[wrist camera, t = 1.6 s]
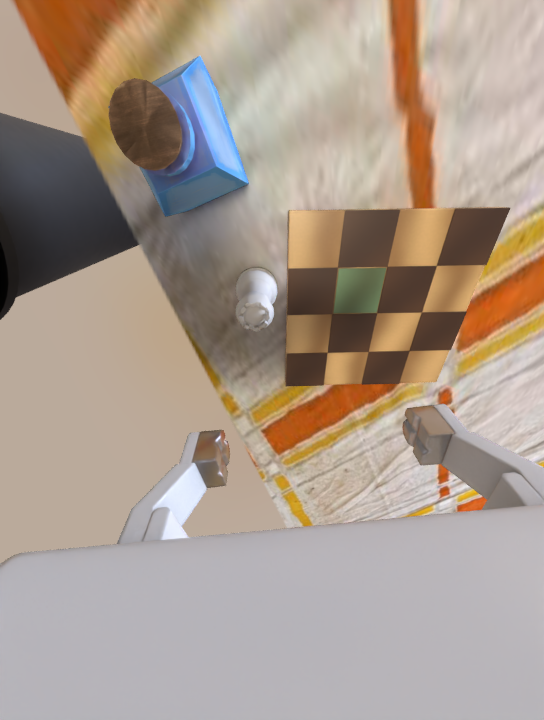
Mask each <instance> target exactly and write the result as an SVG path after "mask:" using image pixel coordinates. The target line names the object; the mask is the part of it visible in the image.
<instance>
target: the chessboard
mask: <svg viewBox="0 0 544 720" xmlns="http://www.w3.org/2000/svg"><path fill="white" fill-rule="evenodd" d="M509 210H510V208H507V207H475V208H411V209H348V210H289V213H288V265H287V317H286V369H285V383H286V386H317V385H330V384H399V383H416V382H436V381H437V379H438V377H439V374H440V372H441V370H442V367H443V365H444V362H445V360H446V358H447V355H448V353H449V350H451V348H452V346H453V343H454V341H455V338H456V336H457V334H458V331H459V329H460V327H461V324H462V322H463V319H464V317H465V315H466V310H467V307H468V305H469V303H470V300H471V298H472V295H473V293H474V291H475V288H476V286H477V283H478V281H479V279H480V276H481V274H482V271H483V269H484V267H485V265H487V262H488V260H489V258H490V255H491V253H492V250H493V248H494V246H495V243H496V241H497V238H498V236H499V234H500V231H501V229H502V227H503V224H504V222H505V219H506V217H507V215H508V212H509Z"/></svg>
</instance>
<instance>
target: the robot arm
mask: <svg viewBox="0 0 544 720" xmlns="http://www.w3.org/2000/svg"><path fill="white" fill-rule="evenodd" d="M405 416H406V417H407V419H406V420H405V421H404V422H403V434H404V436H405V439H406V441H407V443H408V444H410V445H411V446H413V447H414V449H413V453H414V455H415V457H416V458H417V460H418V462H419V463H420V465H434V464H442V466H444V467H445V468H446V469H448V470H449V471H450V472H452V473H453V474H454V475H456V476H457V477H458V478H460V479H461V480H462V481H463V482H465V483H466V484H467V485H469V486H470V487H471V488H473V489H474V490H475V491H477V492H478V493H479V494H481V495H482V496H483V497H484V498H486V499H487V502H486V503H485V505H484V507H483V509H482V510H477V511H466V512H456V513H445V514H434V515H423V516H413V517H402V518H391V519H380V520H370V521H359V522H348V523H337V524H327V525H316V526H306V527H295V528H284V529H274V530H263V531H252V532H241V533H232V534H220V535H209V536H199V537H188V536H187V534H186V533H185V531H184V530H183V528H182V525H183V524H184V523H185V521H186V520H187V518H188V517H189V515H190V514H191V512H192V511H193V509H194V508H195V506H196V505H197V504H198V502H199V500H200V499H201V498H202V496H203V495H204V493H205V492H206V490H207V488H211V487H218V486H225V485H226V483H227V475H228V471H227V468H226V466H227V465H228V463H229V459H230V450H229V445H228V442H227V441H226V440H225V433H224V430H214V431H204V432H194V433H190V434H189V435H188V437H187V440H186V443H185V446H184V450H183V453H182V456H181V460H180V462H179V464H176V465H175V466H174V467H173V468H172V469H171V470H170V471H169V472H168V473H167V474H166V475H165V476H164V477H163V478H162V479H161V480H160V481H159V482H158V483H157V484H156V485H155V486H154V487H153V488H152V489H151V490H150V491H149V492H148V493H147V494H146V495H145V496H144V497H143V498H142V499H141V500H140V501H139V502H138V503H137V504H136V505H135V506H134V507H133V508H132V510H131V512H130V514H129V516H128V519H127V521H126V524H125V526H124V528H123V531H122V533H121V535H120V538H119V540H118V543H117V544H113V545H101V546H91V547H79V548H69V549H58V550H47V551H35V552H25V553H19V554H16V555H13V556H12V557H10V558H8V559H7V560H5V561H4V562H2V563H1V564H0V720H544V467H542V466H540V465H538V464H536V463H534V462H532V461H530V460H528V459H526V458H524V457H522V456H520V455H518V454H516V453H514V452H512V451H510V450H508V449H506V448H504V447H502V446H500V445H498V444H496V443H494V442H492V441H490V440H488V439H486V438H484V437H482V436H480V435H478V434H476V433H474V432H471V433H470V432H469V431H468V430H467V429H466V427H465V426H464V425H463V424H462V423H461V422H460V421H459V419H458V418H457V417H456V416H455V415H454V414H453V412H452V411H451V410H450V409H449V408H448V407H447V406H446V405H445V404H438V405H431V406H422V407H414V408H407V410H406V412H405Z"/></svg>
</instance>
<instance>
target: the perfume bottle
mask: <svg viewBox="0 0 544 720" xmlns="http://www.w3.org/2000/svg"><path fill="white" fill-rule="evenodd" d="M109 119H110V126H111V130H112V133H113V135H114V138H115V140H116V143H117V144H118V146H119V147H120V149H121V150H122V152H123V153H124V155H125V156H126V157H127V158H129V159H130V160H131V161H132V162H133V163H134V164H136V165H138V166H139V167H140V169H141V171H142V173H143V175H144V177H145V178H146V180H147V182H148V184H149V186H150V188H151V190H152V192H153V194H154V196H155V198H156V200H157V202H158V204H159V205H160V207H161V209H162V211H163V213H164V215H165V217H166V216H170V215H174V214H178V213H182V212H186V211H189V210H191V209H193V208H196V207H198V206H200V205H202V204H204V203H207V202H209V201H211V200H213V199H216V198H218V197H220V196H222V195H225V194H227V193H229V192H231V191H234V190H236V189H238V188H240V187H243V186H245V185H247V184H249V183H248V180H247V177H246V174H245V171H244V168H243V165H242V162H241V159H240V156H239V153H238V150H237V147H236V145H235V142H234V139H233V136H232V133H231V130H230V127H229V124H228V121H227V118H226V115H225V112H224V109H223V107H222V104H221V101H220V98H219V95H218V92H217V90H216V88H215V86H214V83H213V81H212V79H211V77H210V75H209V73H208V71H207V69H206V67H205V65H204V63H203V60H202V58H201V56H199V57H197V58H195V59H193V60H192V61H190V62H188V63H186V64H184V65H183V66H181V67H179V68H177V69H175V70H174V71H172V72H170V73H168V74H166V75H165V76H163V77H161V78H159V79H157V80H156V81H154V82H152V83H150V82H148V81H147V80H141V79H135V78H134V79H131V80H127V81H124V82H123V83H121V84H120V85H119V86H118V87H117V88H116V89H115V91H114V93H113V95H112V98H111V100H110V106H109Z"/></svg>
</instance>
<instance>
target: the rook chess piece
mask: <svg viewBox="0 0 544 720" xmlns="http://www.w3.org/2000/svg"><path fill="white" fill-rule="evenodd" d="M277 292H278V288H277V282H276V280H275V278H274V276H273V275H272V274H271V273H270V272H269V271H267V270H265V269H262V268H259V267H257V268H249V269H248V270H246V271H244V272H242V274H241V275H240V276H239V278H238V279H237V284H236V295H237V298H238V300H239V303H238V304H237V307H236V311H235V312H236V317H237V320H238V321H239V323H240V324H241V325H242V326H243V327H244V328H246V329H247V330H248V329H250V330H254V331H259V330H261V329H263V328H265V327H267V326H268V325H269V324H270V323H271V322H272V319H273V316H274V310H273V306H272V304H273V303H274V302H275V299H276V296H277Z"/></svg>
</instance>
